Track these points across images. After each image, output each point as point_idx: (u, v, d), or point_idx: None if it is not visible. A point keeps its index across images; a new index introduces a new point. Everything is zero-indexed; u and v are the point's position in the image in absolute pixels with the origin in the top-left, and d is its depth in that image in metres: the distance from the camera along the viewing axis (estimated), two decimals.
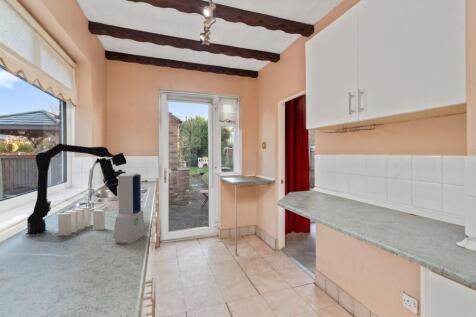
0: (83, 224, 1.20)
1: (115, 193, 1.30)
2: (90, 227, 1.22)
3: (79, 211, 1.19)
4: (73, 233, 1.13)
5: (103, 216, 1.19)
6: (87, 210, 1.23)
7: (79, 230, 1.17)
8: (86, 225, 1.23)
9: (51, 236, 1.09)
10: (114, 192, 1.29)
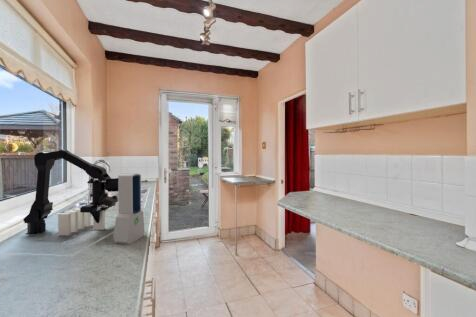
0: (83, 224, 1.20)
1: (96, 220, 1.18)
2: (90, 227, 1.22)
3: (79, 211, 1.19)
4: (73, 233, 1.13)
5: (103, 216, 1.19)
6: None
7: (79, 230, 1.17)
8: (86, 225, 1.23)
9: (51, 236, 1.09)
10: (95, 218, 1.18)
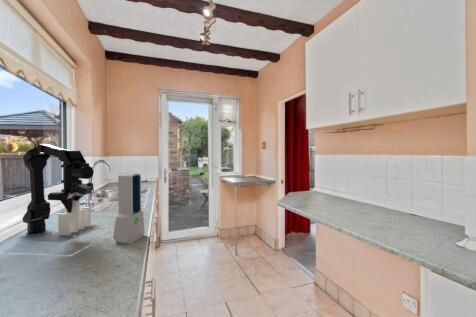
0: (83, 224, 1.20)
1: (68, 209, 1.04)
2: (90, 227, 1.22)
3: (79, 211, 1.19)
4: (73, 233, 1.13)
5: (78, 207, 1.06)
6: (87, 210, 1.23)
7: (79, 230, 1.17)
8: (86, 225, 1.23)
9: (51, 236, 1.09)
10: (67, 208, 1.04)
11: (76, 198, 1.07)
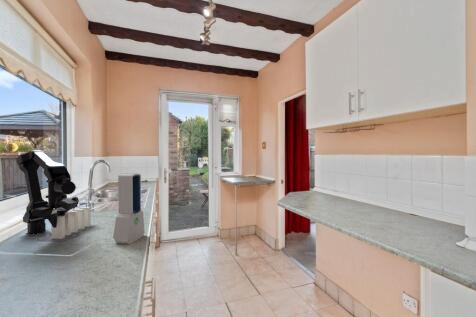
0: (83, 224, 1.20)
1: (53, 224, 1.05)
2: (90, 227, 1.22)
3: (79, 211, 1.19)
4: (73, 233, 1.13)
5: (63, 222, 1.06)
6: (87, 210, 1.23)
7: (79, 230, 1.17)
8: (86, 225, 1.23)
9: (51, 236, 1.09)
10: (52, 223, 1.05)
11: (61, 213, 1.08)
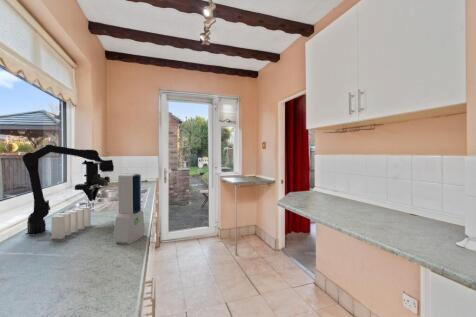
0: (83, 224, 1.20)
1: (89, 198, 1.28)
2: (90, 227, 1.22)
3: (79, 211, 1.19)
4: (73, 233, 1.13)
5: (63, 222, 1.06)
6: (87, 210, 1.23)
7: (79, 230, 1.17)
8: (86, 225, 1.23)
9: (51, 236, 1.09)
10: (89, 197, 1.28)
11: (96, 189, 1.31)
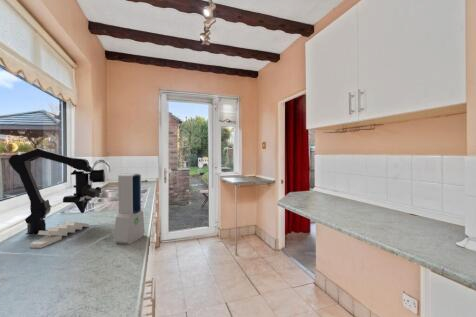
0: (78, 227, 1.16)
1: (81, 210, 1.21)
2: (90, 227, 1.22)
3: None
4: (73, 233, 1.13)
5: (47, 243, 0.98)
6: (75, 225, 1.15)
7: (79, 230, 1.17)
8: (85, 226, 1.22)
9: None
10: (80, 208, 1.21)
11: None
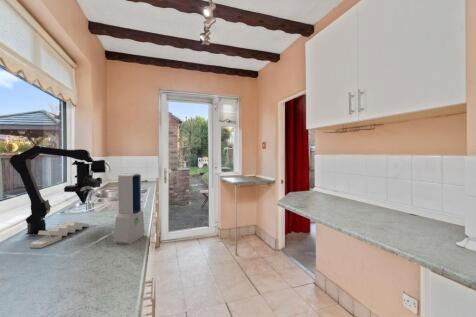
0: (78, 227, 1.16)
1: (82, 200, 1.22)
2: (90, 227, 1.22)
3: None
4: (73, 233, 1.13)
5: (47, 243, 0.98)
6: (75, 225, 1.15)
7: (79, 230, 1.17)
8: (85, 226, 1.22)
9: None
10: (81, 198, 1.22)
11: None
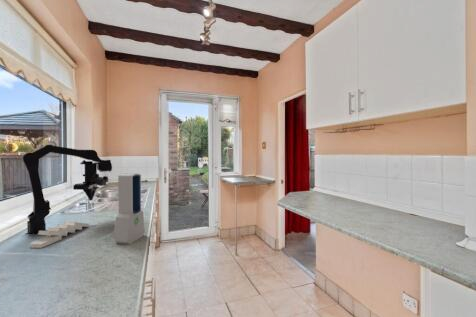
0: (78, 227, 1.16)
1: (89, 197, 1.30)
2: (90, 227, 1.22)
3: None
4: (73, 233, 1.13)
5: (47, 243, 0.98)
6: (75, 225, 1.15)
7: (79, 230, 1.17)
8: (85, 226, 1.22)
9: None
10: (88, 196, 1.30)
11: None
